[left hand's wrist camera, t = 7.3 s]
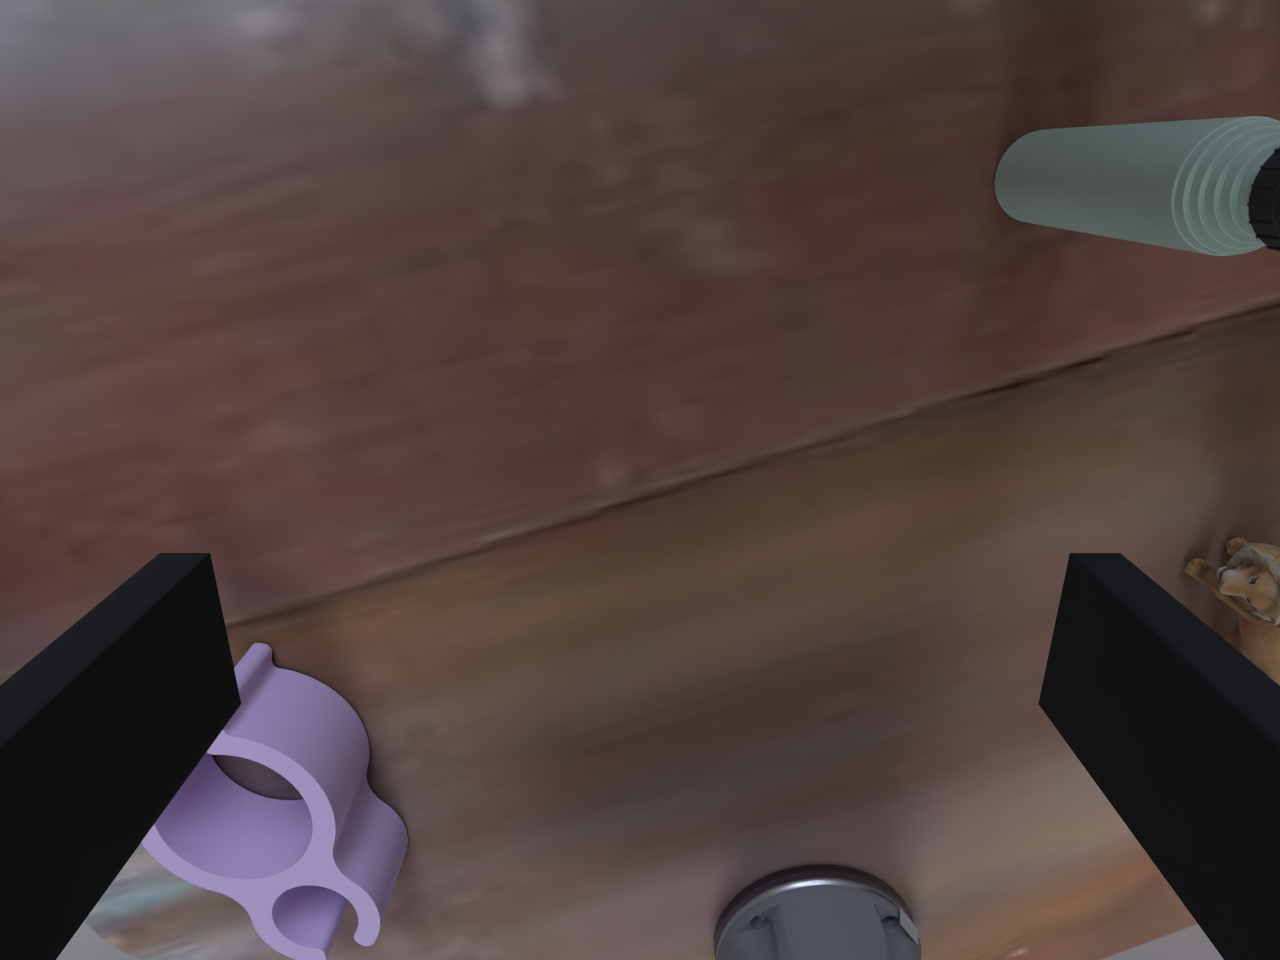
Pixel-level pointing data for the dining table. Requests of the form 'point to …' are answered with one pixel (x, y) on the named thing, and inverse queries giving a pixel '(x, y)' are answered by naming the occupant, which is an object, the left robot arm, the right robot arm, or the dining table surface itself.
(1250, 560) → the lion figurine
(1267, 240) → the cap
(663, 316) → the dining table surface
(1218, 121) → the bottle
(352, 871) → the clip
